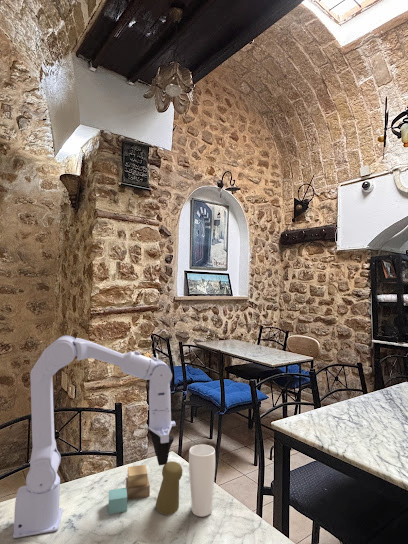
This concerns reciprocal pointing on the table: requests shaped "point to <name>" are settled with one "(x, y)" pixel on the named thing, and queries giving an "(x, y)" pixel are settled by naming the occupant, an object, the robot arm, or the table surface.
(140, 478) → the tower mid
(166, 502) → the olive rounded piece
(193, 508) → the drinking glass
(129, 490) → the tower base
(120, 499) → the teal block
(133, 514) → the table surface
